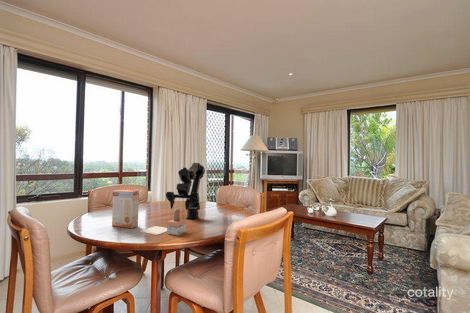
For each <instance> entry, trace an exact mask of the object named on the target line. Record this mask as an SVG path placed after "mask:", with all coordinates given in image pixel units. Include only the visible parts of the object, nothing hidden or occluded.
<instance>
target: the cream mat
mask: <svg viewBox="0 0 470 313" xmlns="http://www.w3.org/2000/svg"><path fill="white" fill-rule="evenodd" d="M139 233H141V234H142V233H143V234H149V235H152V236H153V235H154V236H158V235H159V236H160V235H161V234H164V233H167V227H164V226H163V227H162V226H157V225H154V226H151V227H148V228H145V229H143V230H140V231H139Z"/></svg>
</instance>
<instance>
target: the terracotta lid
mask: <svg viewBox="0 0 470 313" xmlns="http://www.w3.org/2000/svg"><path fill="white" fill-rule="evenodd" d="M180 211H181V209H180V208H175V209H173V219H171V220H168V221H167V226H175V227H179V226H182V225H184V224H185V225H186V220H185V219H180V218H181V217H180V216H181V212H180Z"/></svg>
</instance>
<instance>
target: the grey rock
mask: <svg viewBox="0 0 470 313" xmlns="http://www.w3.org/2000/svg"><path fill="white" fill-rule="evenodd" d="M166 228H167V232H166V234H168V235H173V236H180V235H182V234H185V233H186V228H187V225H186V223H185V224H184V225H182V226H179V227H175V226H168V225H167V226H166Z"/></svg>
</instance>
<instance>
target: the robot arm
mask: <svg viewBox="0 0 470 313" xmlns="http://www.w3.org/2000/svg"><path fill="white" fill-rule="evenodd" d="M177 172H178V174H177V175H178V177H179V180H180V182H181V183H177V184H176V191H177V193H175V192H174V191H167V192H166V193H165V197H166V200H167V201H168V202H169V203H170V209H171V210H173V208H174V204H175V202H176V201H175V200H176V199H186V200H185V201H184V203H185V204H184V207H185V210H186V211H187V213H186V214H187V215H186V216H187V217H185V219H186V220H190V221H191V220H194V221H195V220H197V219H199V218H200V217H199V210H201V205H200V195H199V188H200V183H201V180H202V178H203V177H204V175H205V173H206V169H205V167H204V166H203V165H202V164H201V163H199V162H193V163H192V164H191V166H190V167H189V168H187V167H182V169H180V170H178V171H177Z"/></svg>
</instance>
